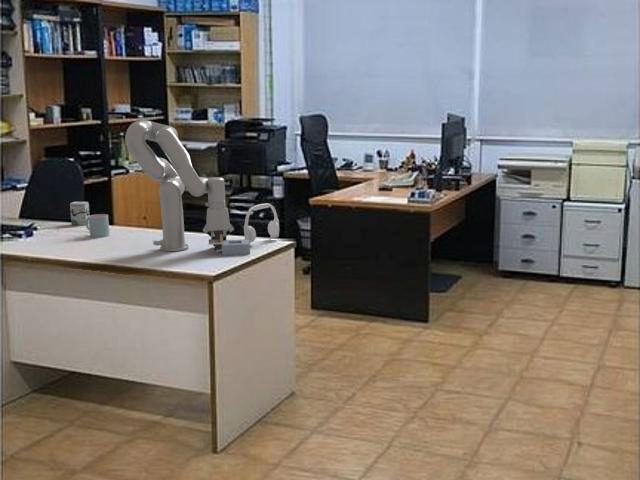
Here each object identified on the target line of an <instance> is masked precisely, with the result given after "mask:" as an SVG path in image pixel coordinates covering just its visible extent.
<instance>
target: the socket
mask: <svg viewBox="0 0 640 480" xmlns="http://www.w3.org/2000/svg"><path fill="white" fill-rule="evenodd" d="M221 254H222V256H235V255H239V254H240V255H250V254H251V242H250V243H249V240H248V239H245V238H243V239H230V240H229V239H228V240H227V239H226V240H224V241H223V244H222V249H221Z"/></svg>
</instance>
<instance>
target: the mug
mask: <svg viewBox="0 0 640 480" xmlns="http://www.w3.org/2000/svg"><path fill="white" fill-rule="evenodd" d="M88 220H89V224H88ZM85 227H86V229H87V230H88V231H89V237H90V238H93V239H96V238H97V239H100V238H101V239H102V238H107V237H109V236H110V223H109V214H105V213H100V214H98V213H97V214H91V215H90V214H89V217H88V218H87V219H86V225H85Z"/></svg>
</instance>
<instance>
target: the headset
mask: <svg viewBox="0 0 640 480" xmlns="http://www.w3.org/2000/svg"><path fill="white" fill-rule="evenodd" d="M268 208H270V209H271V211H272V213H273V216H274V217H273V220H270V221H269V223H268V225H267V232H268V234H269V236H270V239H277V238H279V236H280V235H279V234H280V220H279V218H278V213H277V210H276V208H275V207H274V205H272V204H271V203H267V202H266V203H260V204H259V203H258V204H255V205H253V206H251V207H250V208H249V209H248V210H247V212H246V216H245V219H244V225H243V235H244V239H248V240H249V243H250V244H251V243H253V242H254V241H256V238H257V233H256V229H255V228H254V227H253V226H252V225H249V219H250V215H251V213H252V212H253V211H258V210H262V209H268Z"/></svg>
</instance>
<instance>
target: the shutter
mask: <svg viewBox="0 0 640 480" xmlns="http://www.w3.org/2000/svg"><path fill="white" fill-rule="evenodd" d="M215 244H223V237H222V234H220V239H211V238H210V239H208V246H213V245H215Z"/></svg>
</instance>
